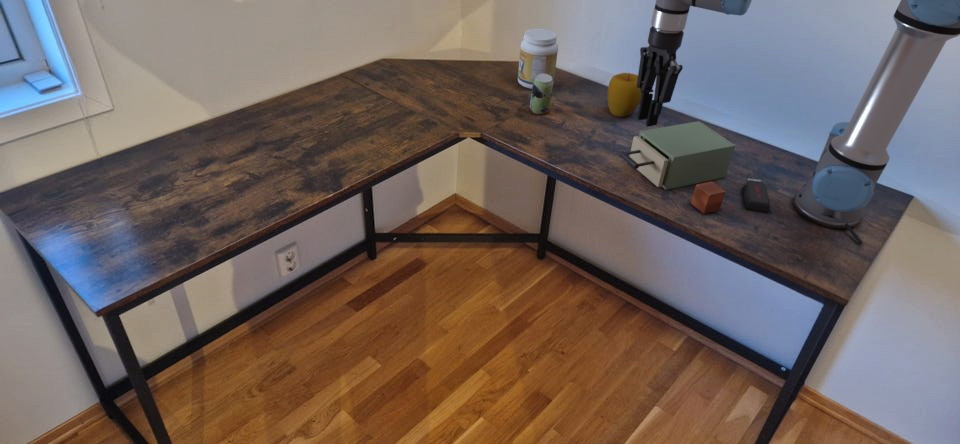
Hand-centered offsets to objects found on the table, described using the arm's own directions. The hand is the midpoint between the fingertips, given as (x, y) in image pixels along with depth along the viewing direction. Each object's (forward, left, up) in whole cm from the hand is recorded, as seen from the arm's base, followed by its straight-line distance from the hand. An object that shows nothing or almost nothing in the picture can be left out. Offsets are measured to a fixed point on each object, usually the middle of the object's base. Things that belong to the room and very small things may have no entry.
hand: (646, 121), depth 161 cm
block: (-17, -9, -17) cm, 26 cm away
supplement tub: (+63, -3, -17) cm, 65 cm away
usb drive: (-18, -24, -17) cm, 35 cm away
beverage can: (+43, +6, -17) cm, 46 cm away
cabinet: (0, -14, -17) cm, 22 cm away
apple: (+34, -18, -17) cm, 42 cm away
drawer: (0, -9, -16) cm, 18 cm away
